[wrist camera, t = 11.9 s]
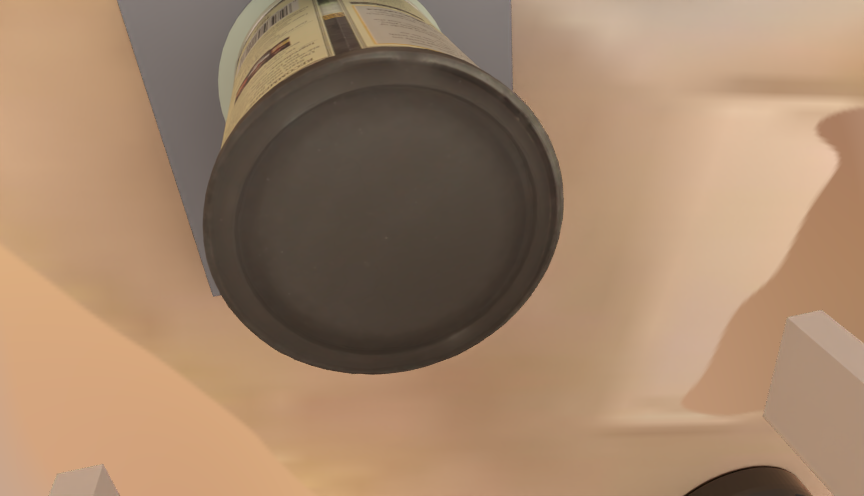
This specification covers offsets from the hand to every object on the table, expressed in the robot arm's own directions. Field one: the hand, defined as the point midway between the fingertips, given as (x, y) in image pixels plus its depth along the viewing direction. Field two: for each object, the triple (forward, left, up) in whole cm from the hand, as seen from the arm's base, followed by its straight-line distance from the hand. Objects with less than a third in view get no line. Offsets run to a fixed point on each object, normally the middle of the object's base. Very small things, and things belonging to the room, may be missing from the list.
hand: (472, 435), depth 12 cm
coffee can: (+1, 0, -21) cm, 21 cm away
